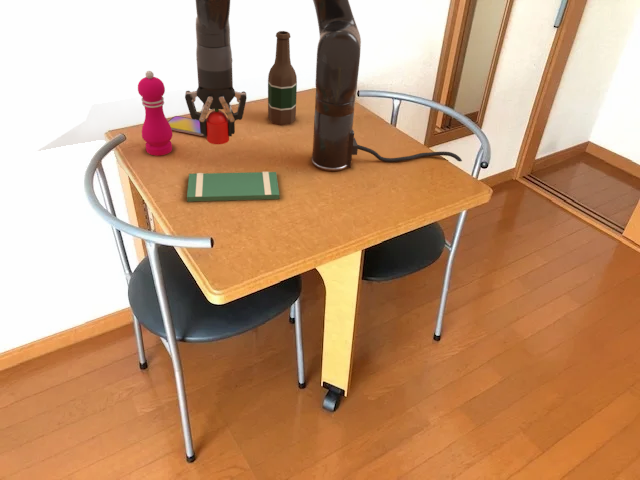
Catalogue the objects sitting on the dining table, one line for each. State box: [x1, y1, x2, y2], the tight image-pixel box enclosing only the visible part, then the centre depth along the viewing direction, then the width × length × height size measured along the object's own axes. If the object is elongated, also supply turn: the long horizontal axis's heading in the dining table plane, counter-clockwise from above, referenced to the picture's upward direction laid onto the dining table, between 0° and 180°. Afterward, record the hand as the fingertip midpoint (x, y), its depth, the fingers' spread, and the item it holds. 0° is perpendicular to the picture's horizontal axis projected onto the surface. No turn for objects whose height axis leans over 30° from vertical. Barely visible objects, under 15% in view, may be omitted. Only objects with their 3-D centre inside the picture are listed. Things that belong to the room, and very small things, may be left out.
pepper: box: [206, 109, 230, 145], centre depth 128 cm, size 5×5×8 cm
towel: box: [186, 171, 280, 203], centre depth 125 cm, size 20×10×1 cm, turn 98°
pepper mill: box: [137, 70, 173, 157], centre depth 131 cm, size 7×7×20 cm
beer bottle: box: [267, 30, 298, 126], centre depth 148 cm, size 8×8×24 cm
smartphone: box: [167, 115, 207, 138], centre depth 148 cm, size 7×1×15 cm
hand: (217, 134), depth 130 cm, fingers closed on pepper, 5 cm apart
